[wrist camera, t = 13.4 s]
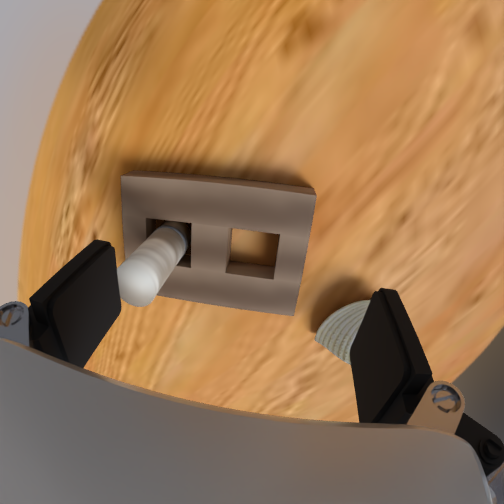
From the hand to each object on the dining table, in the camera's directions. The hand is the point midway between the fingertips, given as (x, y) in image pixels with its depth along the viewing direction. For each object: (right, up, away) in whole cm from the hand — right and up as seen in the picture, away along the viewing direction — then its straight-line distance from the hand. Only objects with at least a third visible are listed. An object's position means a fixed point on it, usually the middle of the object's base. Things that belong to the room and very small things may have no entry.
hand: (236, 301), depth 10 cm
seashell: (+13, -6, +27) cm, 31 cm away
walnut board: (-4, +3, +24) cm, 25 cm away
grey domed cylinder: (-8, +4, +24) cm, 26 cm away
